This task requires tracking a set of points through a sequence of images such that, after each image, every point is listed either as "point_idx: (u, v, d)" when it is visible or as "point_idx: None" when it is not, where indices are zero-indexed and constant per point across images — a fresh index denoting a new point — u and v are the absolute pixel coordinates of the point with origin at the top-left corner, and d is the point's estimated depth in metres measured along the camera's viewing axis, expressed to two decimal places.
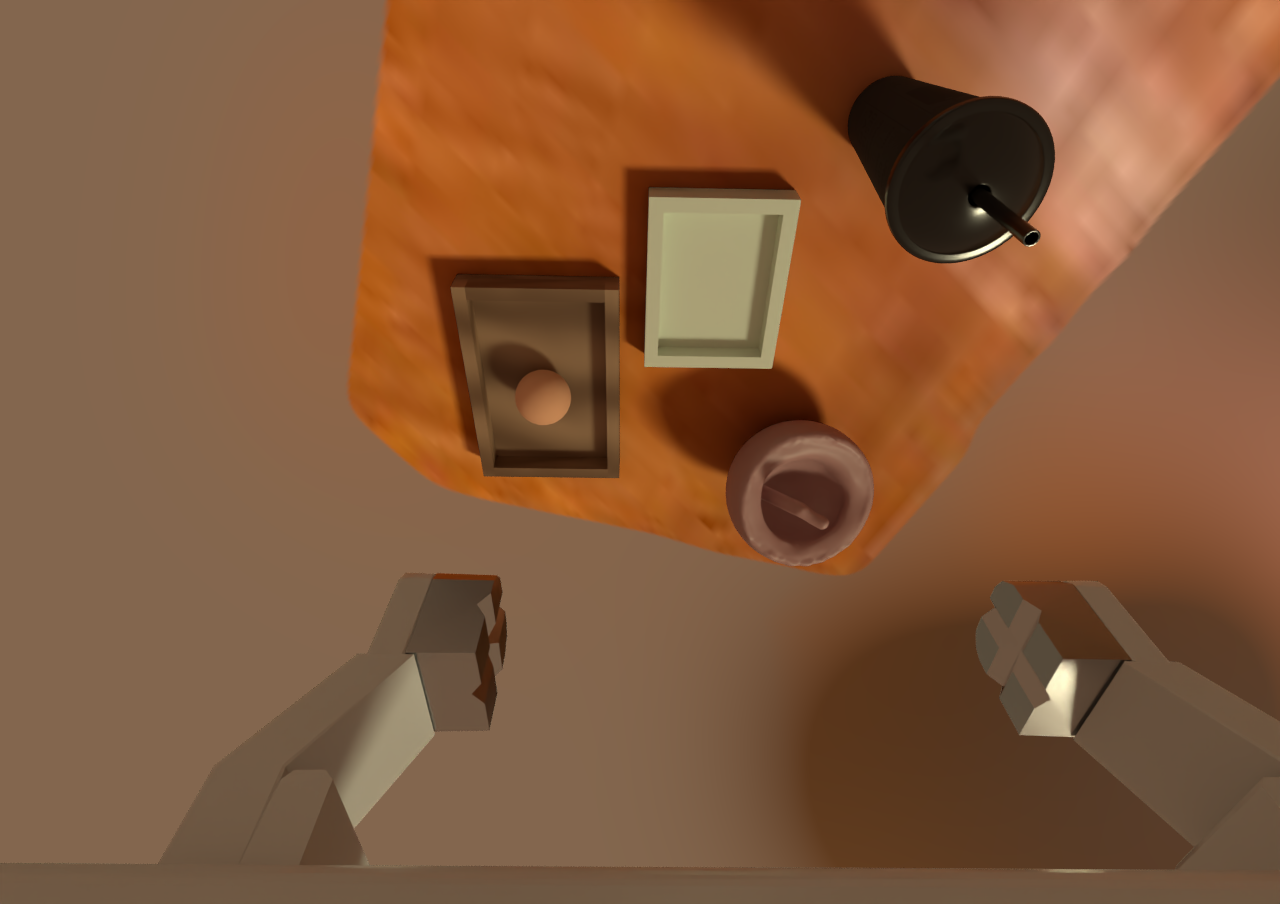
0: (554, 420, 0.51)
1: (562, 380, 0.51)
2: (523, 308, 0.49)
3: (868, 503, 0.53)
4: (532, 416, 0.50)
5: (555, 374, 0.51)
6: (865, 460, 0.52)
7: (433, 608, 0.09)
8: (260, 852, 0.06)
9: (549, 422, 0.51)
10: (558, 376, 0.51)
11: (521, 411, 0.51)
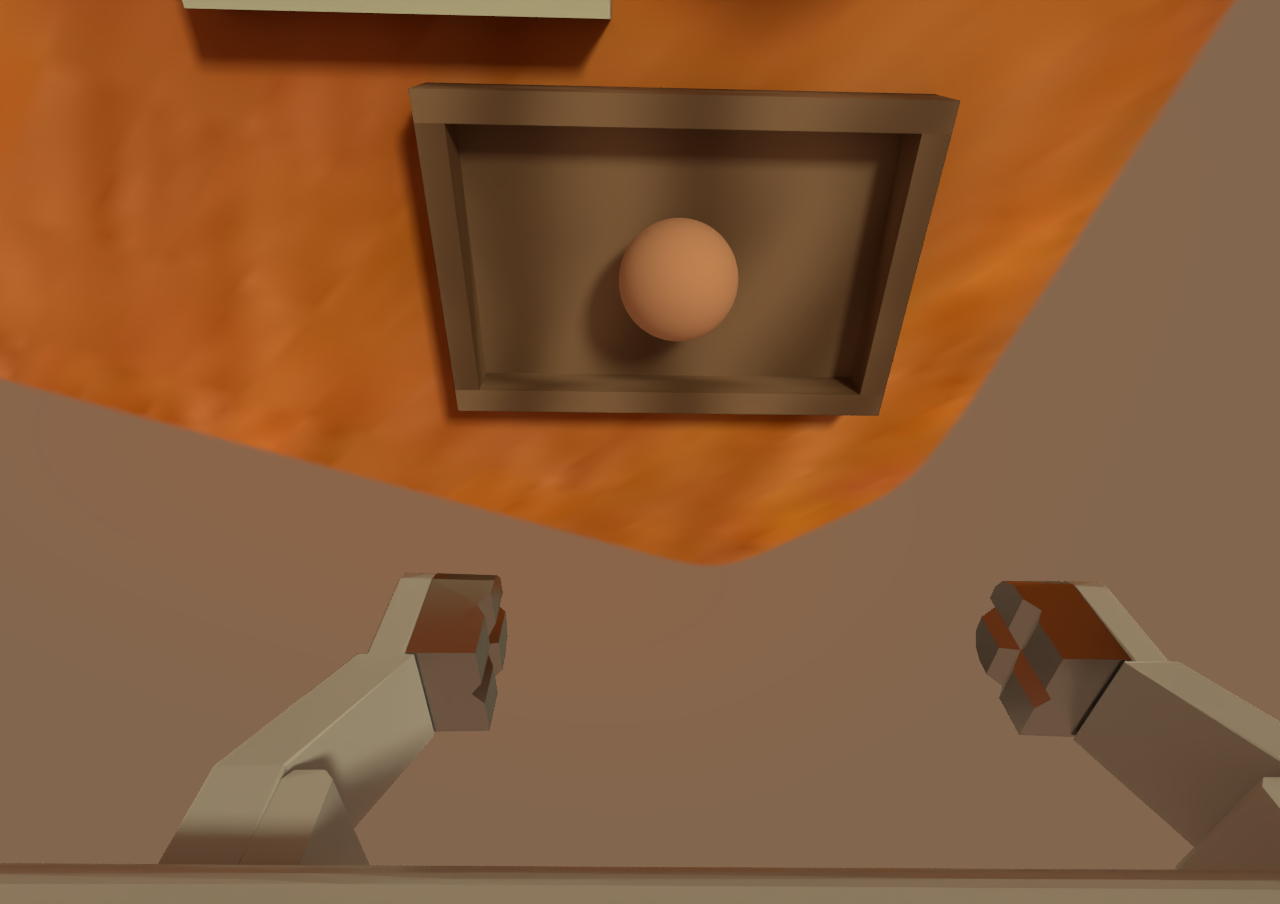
0: (713, 269, 0.22)
1: (639, 234, 0.23)
2: (509, 289, 0.26)
3: None
4: (691, 319, 0.23)
5: (628, 247, 0.24)
6: None
7: (433, 608, 0.09)
8: (260, 852, 0.06)
9: (716, 281, 0.22)
10: (632, 241, 0.24)
11: (686, 336, 0.24)
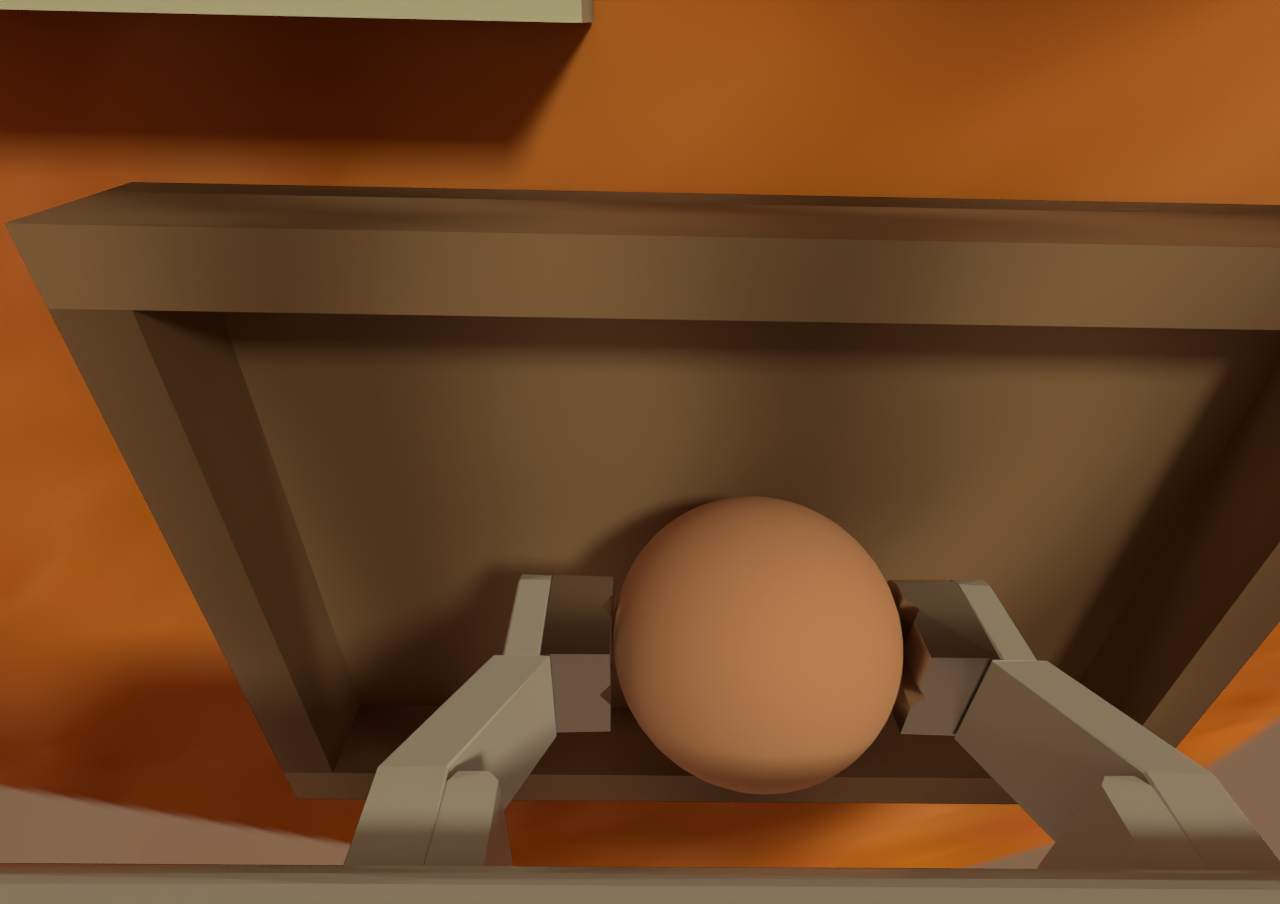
0: (861, 686, 0.08)
1: (662, 548, 0.10)
2: (388, 587, 0.13)
3: None
4: (797, 787, 0.09)
5: (636, 563, 0.10)
6: None
7: (559, 609, 0.09)
8: (442, 853, 0.07)
9: (867, 712, 0.08)
10: (644, 555, 0.10)
11: None
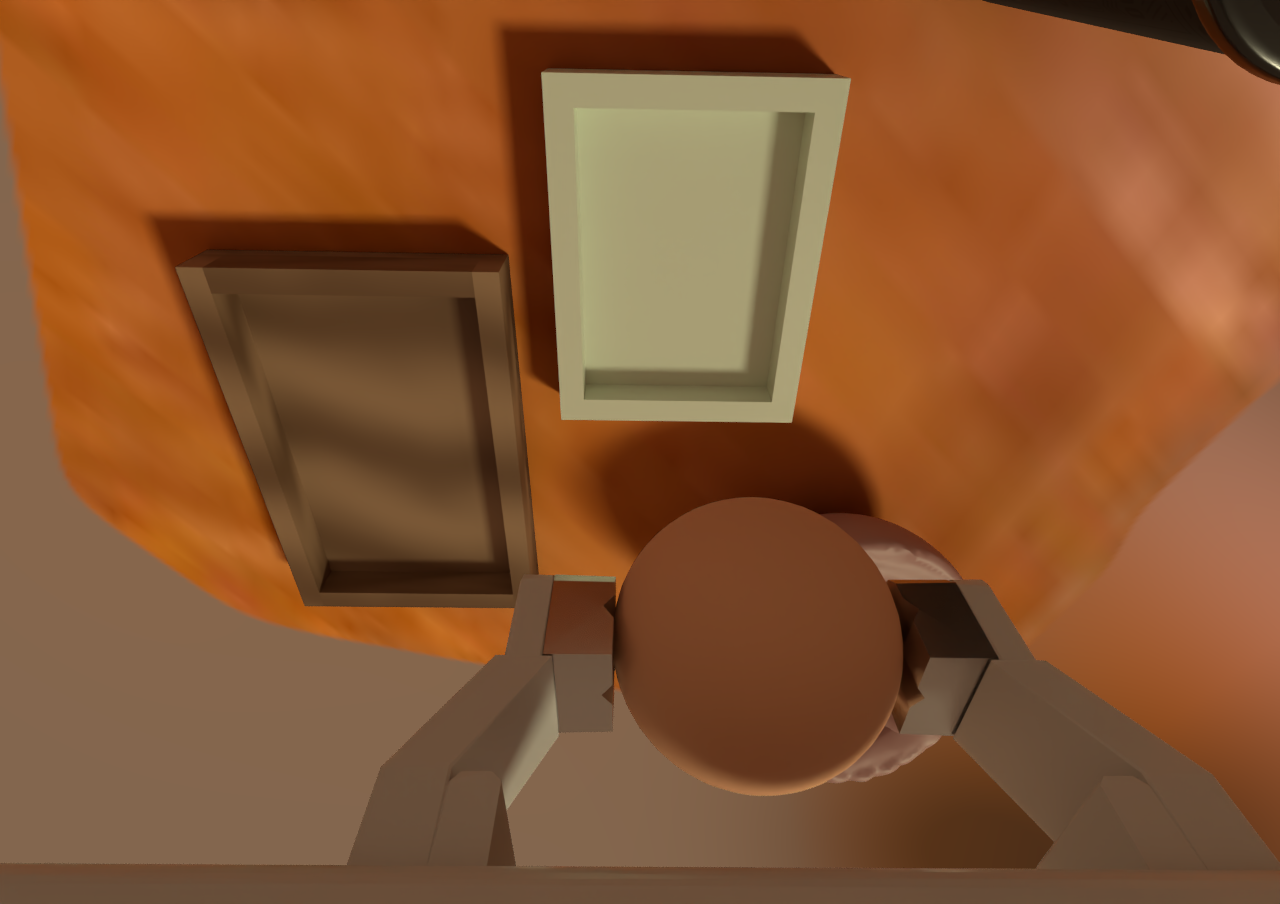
0: (861, 688, 0.08)
1: (662, 549, 0.10)
2: (335, 313, 0.27)
3: None
4: (797, 789, 0.09)
5: (635, 564, 0.10)
6: None
7: (560, 609, 0.09)
8: (445, 853, 0.07)
9: (867, 714, 0.08)
10: (644, 557, 0.10)
11: None
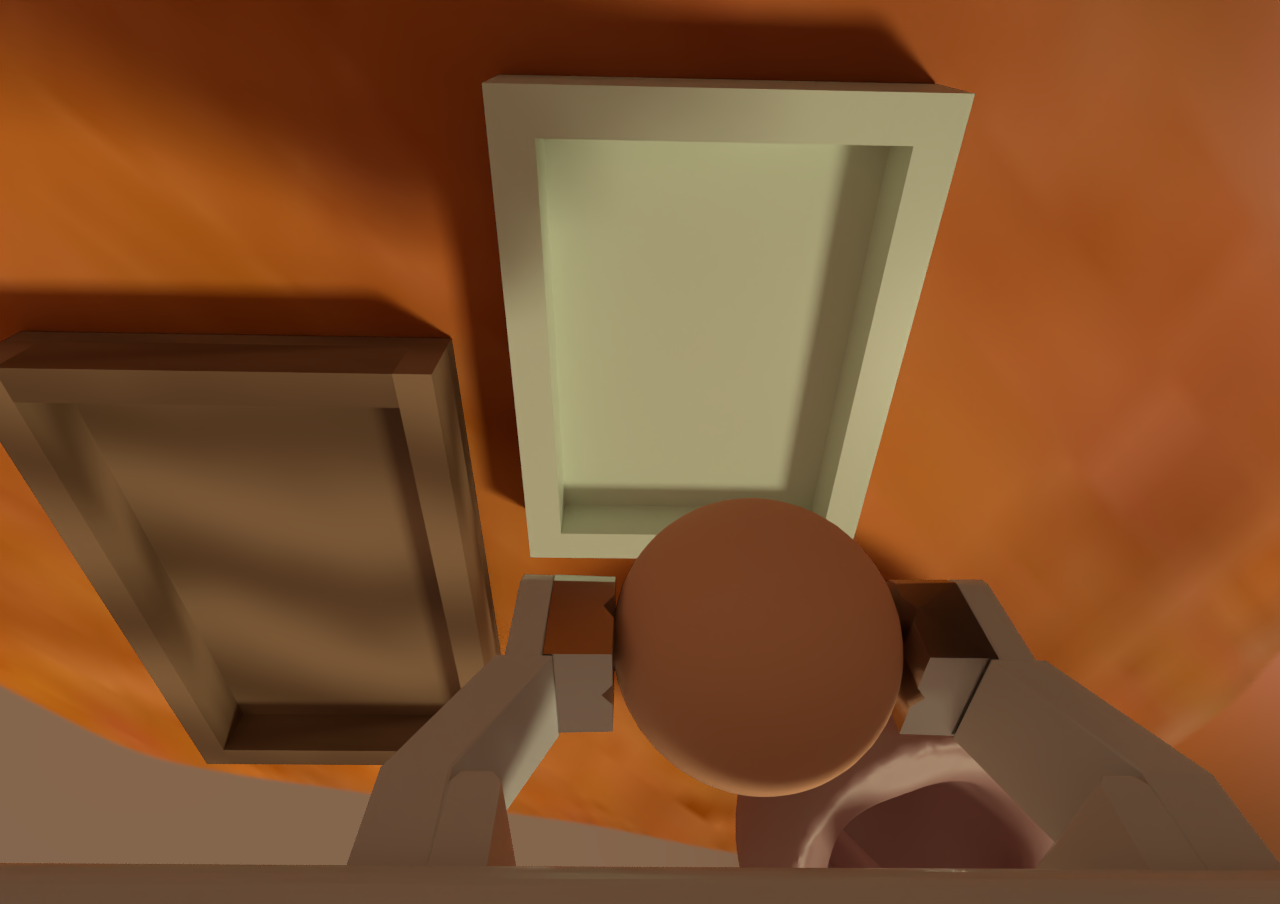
0: (861, 689, 0.08)
1: (662, 550, 0.10)
2: (210, 418, 0.19)
3: None
4: (797, 790, 0.09)
5: (635, 565, 0.10)
6: None
7: (561, 609, 0.09)
8: (444, 853, 0.07)
9: (867, 715, 0.08)
10: (644, 558, 0.10)
11: None
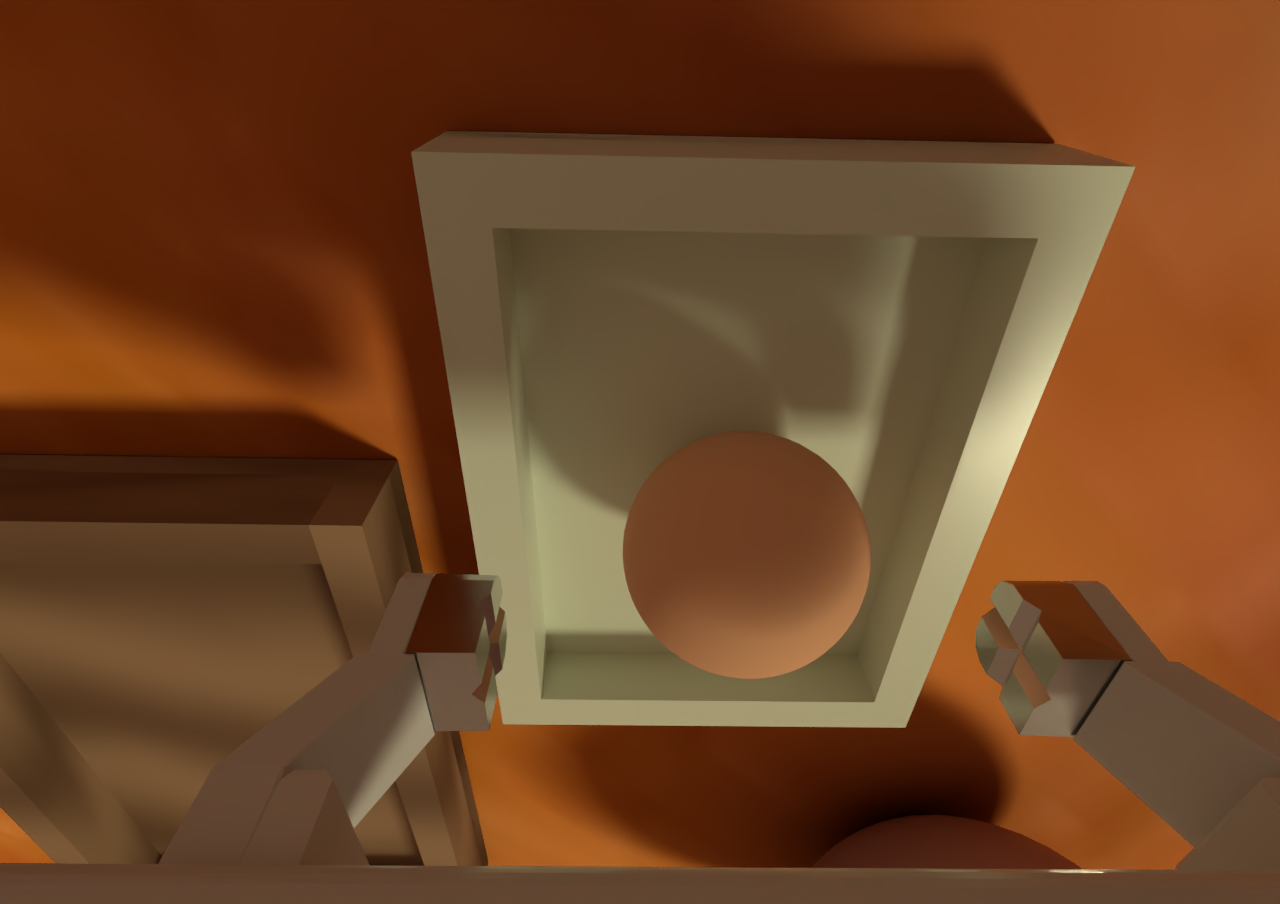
0: (837, 573, 0.10)
1: (665, 474, 0.11)
2: None
3: None
4: (788, 666, 0.11)
5: (641, 491, 0.12)
6: None
7: (433, 608, 0.09)
8: (260, 852, 0.06)
9: (843, 596, 0.10)
10: (649, 483, 0.11)
11: None
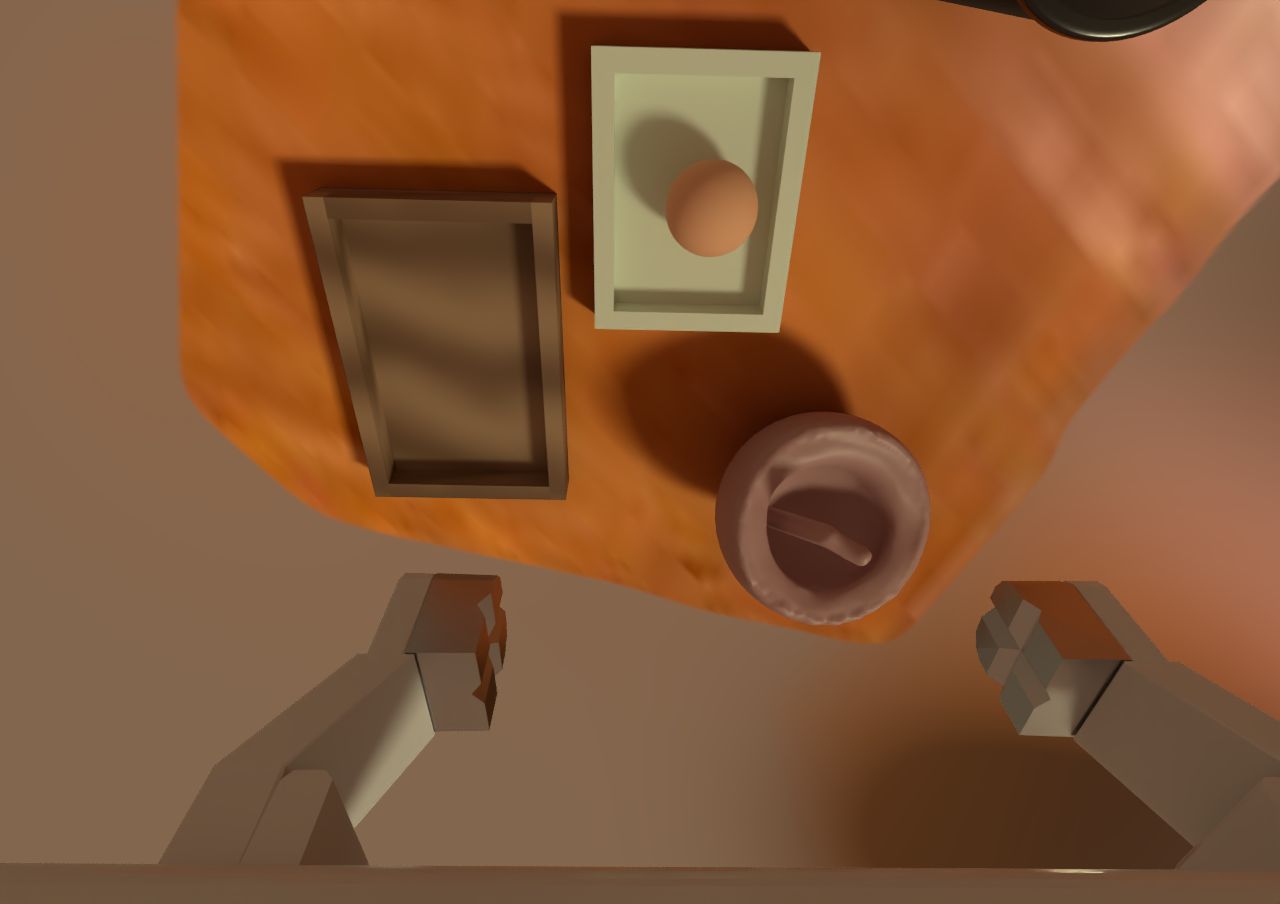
0: (748, 193, 0.30)
1: (683, 173, 0.30)
2: (418, 240, 0.34)
3: (923, 531, 0.36)
4: (736, 233, 0.30)
5: (672, 185, 0.30)
6: (917, 466, 0.36)
7: (433, 608, 0.09)
8: (260, 852, 0.06)
9: (751, 202, 0.30)
10: (676, 180, 0.30)
11: (727, 250, 0.31)
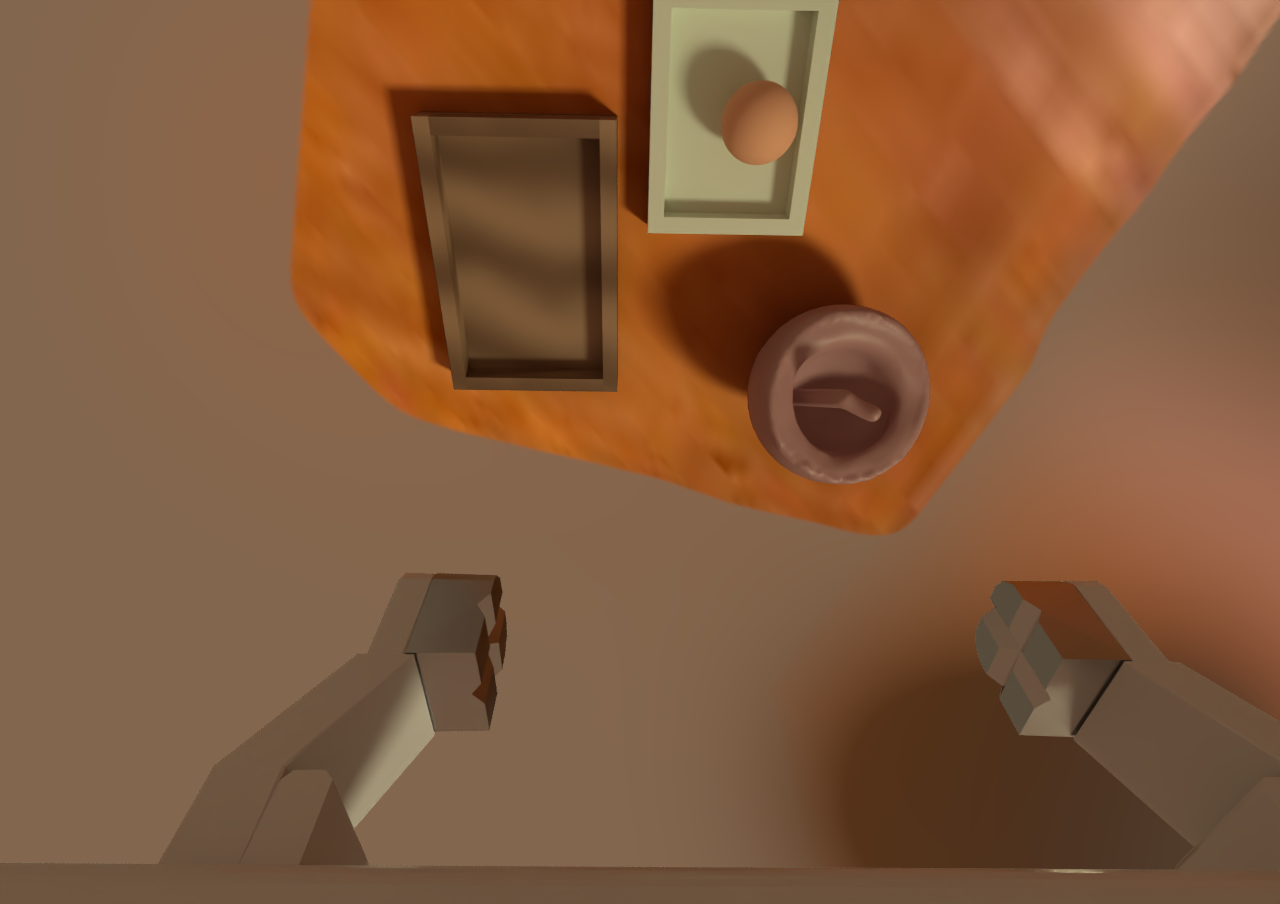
0: (795, 106, 0.37)
1: (739, 93, 0.36)
2: (501, 157, 0.41)
3: (924, 405, 0.43)
4: (787, 140, 0.37)
5: (730, 103, 0.37)
6: (919, 348, 0.42)
7: (433, 608, 0.09)
8: (259, 853, 0.06)
9: (796, 114, 0.37)
10: (733, 99, 0.36)
11: (777, 156, 0.38)
